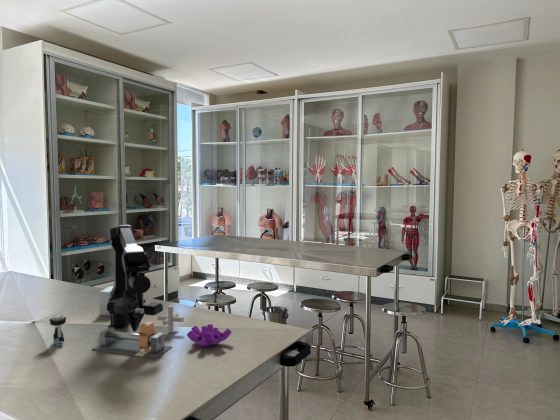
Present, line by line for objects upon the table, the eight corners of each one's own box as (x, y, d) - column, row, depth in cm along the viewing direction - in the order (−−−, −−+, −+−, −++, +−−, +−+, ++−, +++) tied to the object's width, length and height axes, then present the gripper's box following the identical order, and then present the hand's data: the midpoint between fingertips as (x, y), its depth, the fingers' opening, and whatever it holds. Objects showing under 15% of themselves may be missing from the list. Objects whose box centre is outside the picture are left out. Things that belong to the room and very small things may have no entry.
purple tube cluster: (218, 360, 146) (206, 343, 141) (189, 349, 155) (177, 333, 150) (236, 333, 152) (225, 316, 147) (207, 325, 161) (196, 308, 156)
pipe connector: (177, 337, 158) (177, 310, 157) (152, 335, 160) (152, 309, 159) (188, 328, 168) (188, 303, 167) (164, 326, 170) (164, 302, 169)
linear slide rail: (100, 346, 147) (100, 331, 147) (109, 341, 152) (109, 326, 152) (156, 354, 141) (156, 338, 141) (164, 348, 146) (164, 333, 146)
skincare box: (114, 315, 183) (113, 291, 182) (99, 315, 183) (98, 291, 182) (123, 308, 193) (123, 286, 193) (109, 308, 194) (109, 285, 193)
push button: (70, 345, 149) (69, 317, 149) (53, 349, 146) (52, 320, 145) (64, 340, 154) (63, 313, 153) (48, 343, 150) (47, 316, 150)
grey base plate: (91, 350, 145) (91, 348, 145) (110, 339, 155) (110, 338, 155) (156, 358, 138) (156, 357, 138) (171, 347, 148) (171, 346, 148)
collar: (139, 348, 143) (138, 325, 142) (147, 342, 148) (147, 321, 147) (146, 349, 142) (146, 326, 142) (155, 343, 147) (155, 321, 146)
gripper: (95, 290, 140) (96, 336, 141) (145, 294, 135) (145, 342, 136) (116, 282, 150) (117, 325, 151) (163, 286, 146) (163, 331, 147)
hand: (134, 331), depth 146 cm, fingers closed
